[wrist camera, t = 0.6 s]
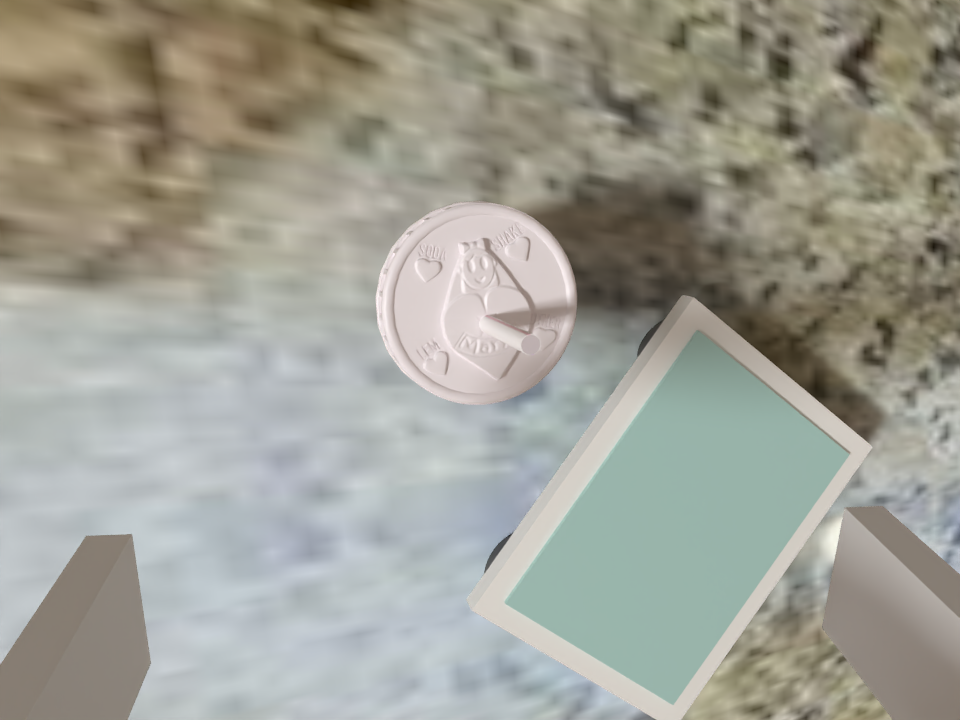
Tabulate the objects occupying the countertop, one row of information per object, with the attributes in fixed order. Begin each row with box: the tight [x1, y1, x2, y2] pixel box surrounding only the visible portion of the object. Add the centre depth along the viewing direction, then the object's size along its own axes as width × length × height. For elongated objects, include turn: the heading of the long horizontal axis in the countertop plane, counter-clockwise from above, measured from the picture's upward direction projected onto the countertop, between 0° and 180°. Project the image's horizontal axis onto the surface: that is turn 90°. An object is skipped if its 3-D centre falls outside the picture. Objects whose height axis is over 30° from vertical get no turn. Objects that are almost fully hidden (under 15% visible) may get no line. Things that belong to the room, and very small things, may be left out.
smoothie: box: [376, 201, 577, 405], centre depth 27 cm, size 6×6×14 cm
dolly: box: [466, 295, 872, 720], centre depth 37 cm, size 16×12×4 cm
